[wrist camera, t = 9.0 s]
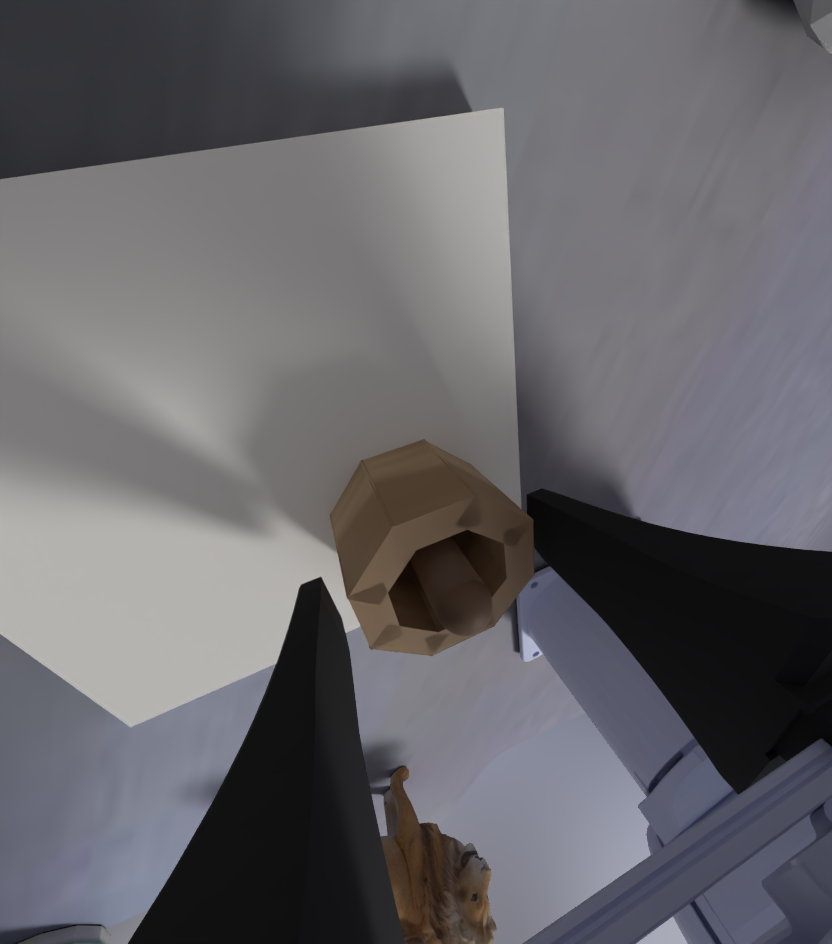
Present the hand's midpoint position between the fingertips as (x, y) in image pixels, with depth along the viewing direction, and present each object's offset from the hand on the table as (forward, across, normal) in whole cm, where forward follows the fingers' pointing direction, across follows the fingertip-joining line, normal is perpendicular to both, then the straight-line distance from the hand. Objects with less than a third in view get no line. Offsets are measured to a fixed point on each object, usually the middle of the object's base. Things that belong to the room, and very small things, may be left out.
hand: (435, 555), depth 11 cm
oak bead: (+3, 0, 0) cm, 3 cm away
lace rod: (+3, 0, 0) cm, 3 cm away
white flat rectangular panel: (+4, +4, -3) cm, 6 cm away
